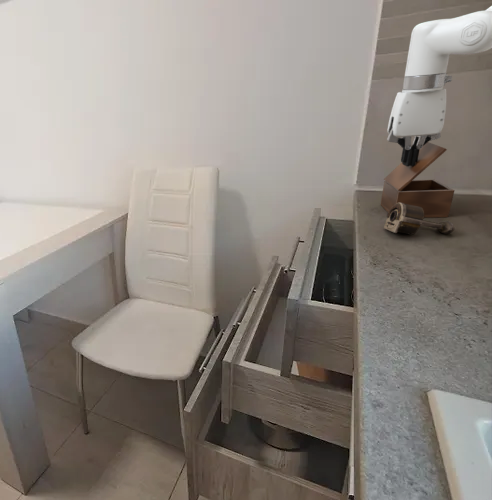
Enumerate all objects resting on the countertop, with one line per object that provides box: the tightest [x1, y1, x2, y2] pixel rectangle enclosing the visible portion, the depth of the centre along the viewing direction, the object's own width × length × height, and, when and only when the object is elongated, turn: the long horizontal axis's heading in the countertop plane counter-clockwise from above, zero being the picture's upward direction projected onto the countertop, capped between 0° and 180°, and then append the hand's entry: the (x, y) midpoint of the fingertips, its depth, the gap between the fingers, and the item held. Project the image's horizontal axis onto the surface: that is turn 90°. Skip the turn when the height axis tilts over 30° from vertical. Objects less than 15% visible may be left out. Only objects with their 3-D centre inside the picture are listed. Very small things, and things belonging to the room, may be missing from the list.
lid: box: [383, 141, 448, 191], centre depth 90 cm, size 12×10×1 cm
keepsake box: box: [379, 178, 455, 219], centre depth 93 cm, size 11×10×7 cm
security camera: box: [383, 202, 456, 235], centre depth 81 cm, size 7×13×10 cm
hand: (408, 164), depth 90 cm, fingers closed
